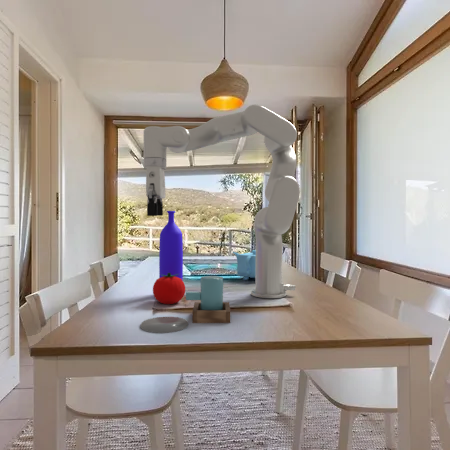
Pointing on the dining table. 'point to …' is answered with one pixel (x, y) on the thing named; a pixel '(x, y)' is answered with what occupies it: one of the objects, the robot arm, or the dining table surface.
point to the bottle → (171, 249)
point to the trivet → (164, 324)
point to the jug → (209, 293)
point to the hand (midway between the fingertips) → (155, 215)
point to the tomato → (169, 289)
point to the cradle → (211, 314)
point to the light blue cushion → (246, 265)
